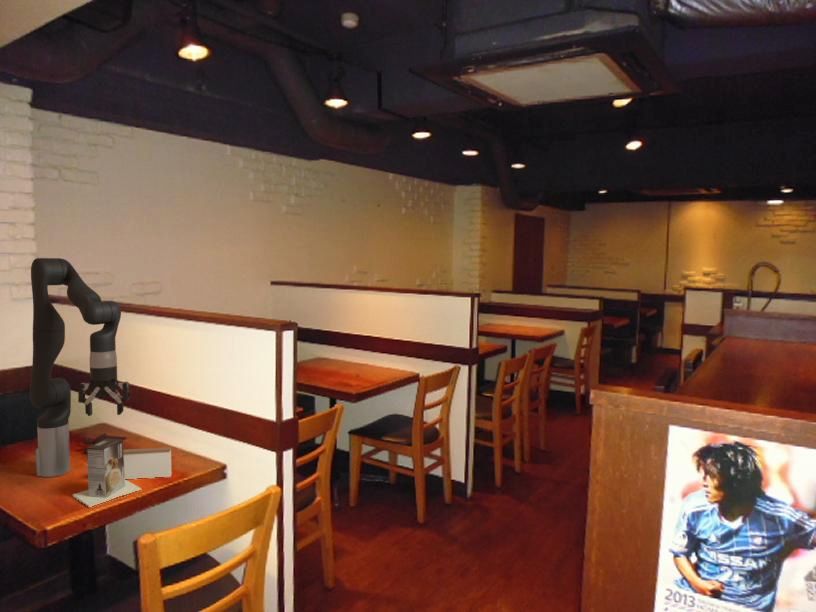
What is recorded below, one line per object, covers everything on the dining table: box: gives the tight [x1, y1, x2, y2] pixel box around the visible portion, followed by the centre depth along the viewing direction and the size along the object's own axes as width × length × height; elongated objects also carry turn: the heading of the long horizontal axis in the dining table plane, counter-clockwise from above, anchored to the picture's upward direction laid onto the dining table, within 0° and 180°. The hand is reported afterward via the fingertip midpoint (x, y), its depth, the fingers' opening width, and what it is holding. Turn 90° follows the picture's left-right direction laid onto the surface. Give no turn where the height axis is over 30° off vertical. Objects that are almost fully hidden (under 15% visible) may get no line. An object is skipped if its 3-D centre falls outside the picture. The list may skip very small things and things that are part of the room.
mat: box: [72, 480, 142, 508], centre depth 178 cm, size 16×12×1 cm
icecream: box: [82, 432, 127, 454], centre depth 215 cm, size 7×7×15 cm
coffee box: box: [86, 439, 125, 498], centre depth 177 cm, size 9×6×16 cm
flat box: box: [123, 446, 172, 480], centre depth 190 cm, size 22×2×10 cm, turn 103°
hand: (104, 414), depth 175 cm, fingers open, 8 cm apart
